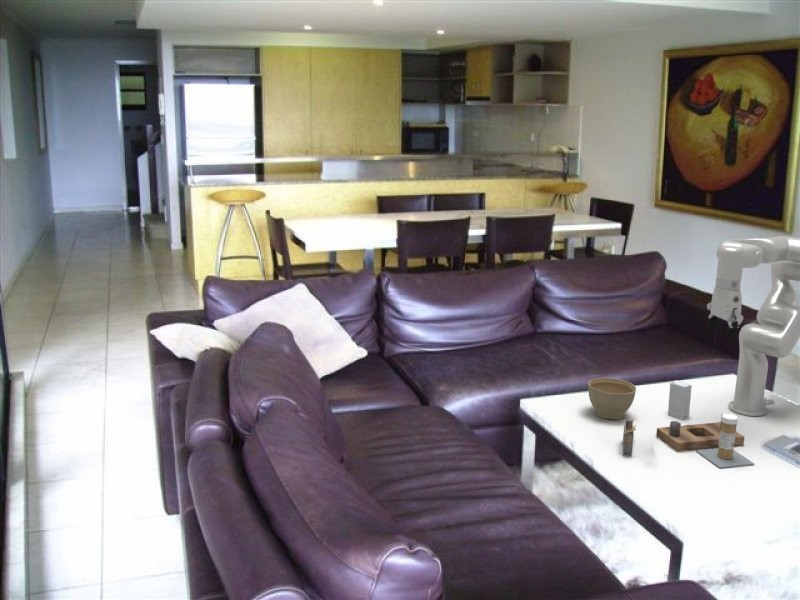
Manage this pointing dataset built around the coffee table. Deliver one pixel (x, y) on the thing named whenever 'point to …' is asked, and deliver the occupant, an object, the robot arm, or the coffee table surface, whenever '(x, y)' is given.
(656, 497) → the coffee table surface
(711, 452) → the pad
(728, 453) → the sprinkles bottle
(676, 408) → the skincare box
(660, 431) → the wooden peg board
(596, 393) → the planter bowl
